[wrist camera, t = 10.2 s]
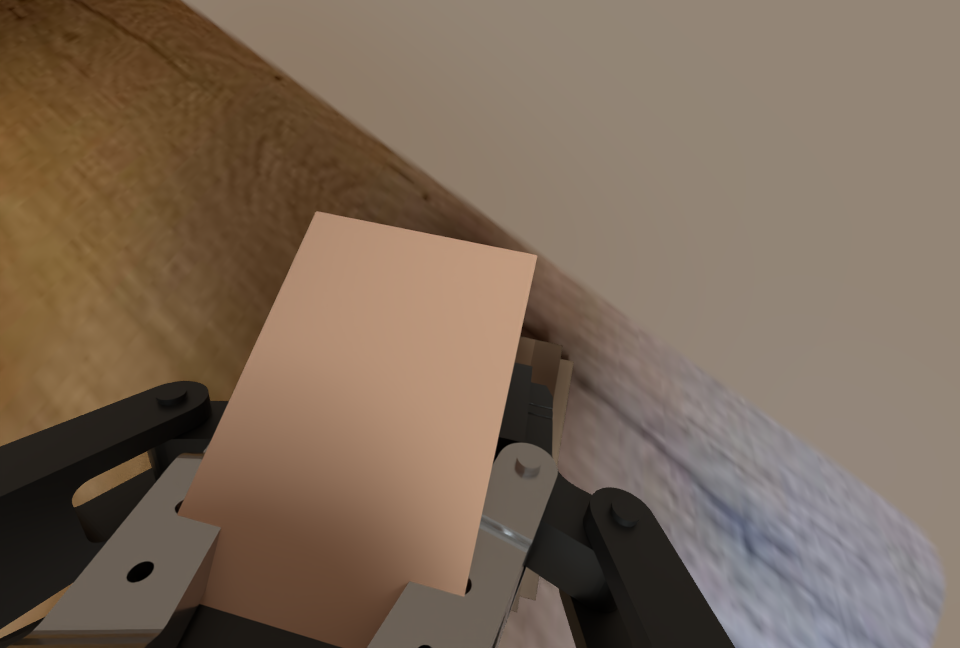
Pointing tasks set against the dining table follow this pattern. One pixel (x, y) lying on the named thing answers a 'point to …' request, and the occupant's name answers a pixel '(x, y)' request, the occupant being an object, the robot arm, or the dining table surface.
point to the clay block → (362, 429)
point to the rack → (557, 380)
